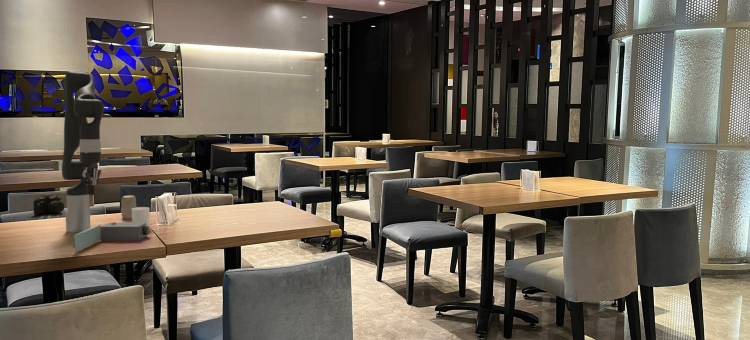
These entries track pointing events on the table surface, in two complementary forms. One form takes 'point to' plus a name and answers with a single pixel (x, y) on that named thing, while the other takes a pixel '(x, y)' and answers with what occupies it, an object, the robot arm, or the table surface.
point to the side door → (87, 238)
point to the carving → (127, 206)
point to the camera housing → (124, 231)
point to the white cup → (140, 215)
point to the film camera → (48, 205)
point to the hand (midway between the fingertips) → (91, 194)
